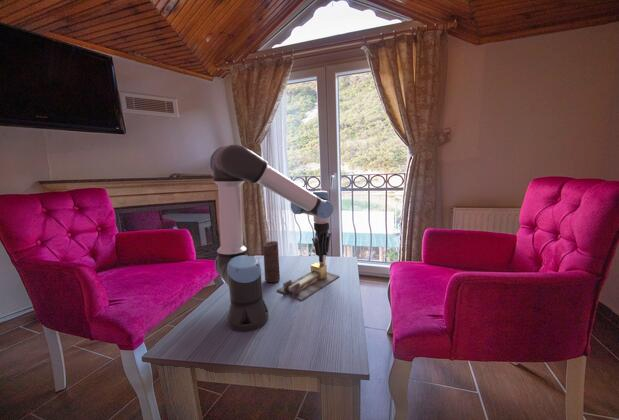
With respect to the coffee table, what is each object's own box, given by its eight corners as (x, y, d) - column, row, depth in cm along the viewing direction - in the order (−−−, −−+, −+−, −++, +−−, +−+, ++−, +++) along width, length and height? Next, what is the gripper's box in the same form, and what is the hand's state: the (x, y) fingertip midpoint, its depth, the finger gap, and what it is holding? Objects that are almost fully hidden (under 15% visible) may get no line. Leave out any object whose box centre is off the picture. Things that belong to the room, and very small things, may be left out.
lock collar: (320, 280, 129) (320, 268, 128) (311, 277, 133) (310, 265, 132) (326, 276, 133) (326, 264, 132) (317, 273, 137) (316, 262, 135)
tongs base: (301, 301, 111) (300, 289, 111) (276, 291, 121) (276, 280, 120) (339, 276, 134) (339, 267, 133) (316, 270, 143) (315, 261, 142)
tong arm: (293, 293, 116) (292, 288, 115) (287, 290, 118) (287, 286, 118) (321, 274, 131) (321, 271, 131) (316, 273, 134) (316, 269, 133)
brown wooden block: (279, 284, 128) (276, 244, 124) (263, 284, 128) (261, 245, 124) (280, 277, 135) (278, 239, 132) (266, 277, 135) (264, 240, 132)
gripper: (319, 225, 123) (320, 273, 127) (335, 220, 133) (335, 264, 137) (307, 223, 128) (308, 269, 132) (323, 218, 138) (324, 261, 142)
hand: (322, 267), depth 134 cm, fingers closed
